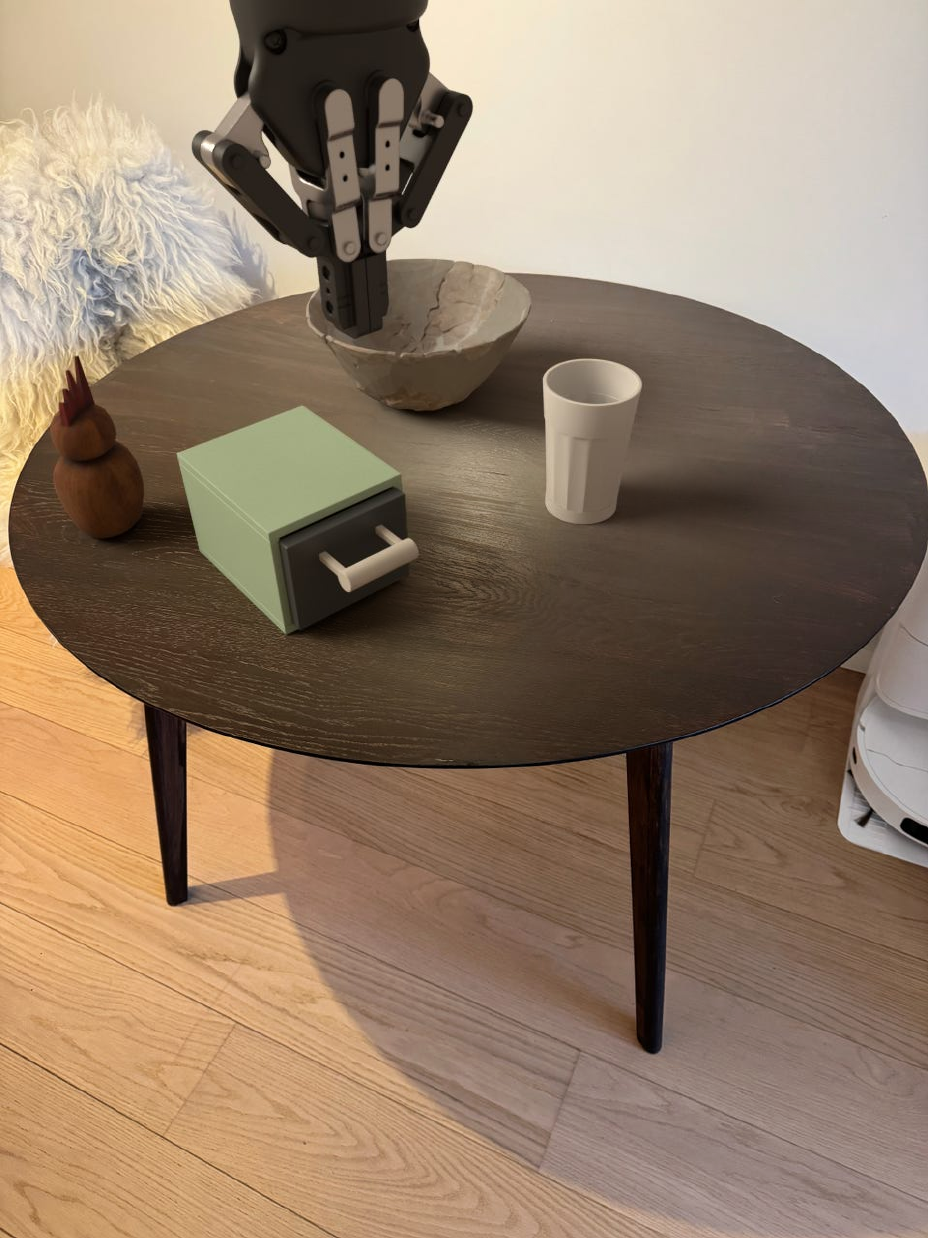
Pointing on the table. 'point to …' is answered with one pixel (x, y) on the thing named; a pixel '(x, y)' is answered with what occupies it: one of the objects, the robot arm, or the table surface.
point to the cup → (587, 436)
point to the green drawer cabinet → (273, 496)
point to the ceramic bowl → (430, 333)
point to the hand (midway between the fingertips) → (357, 329)
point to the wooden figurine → (93, 464)
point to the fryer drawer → (346, 556)
